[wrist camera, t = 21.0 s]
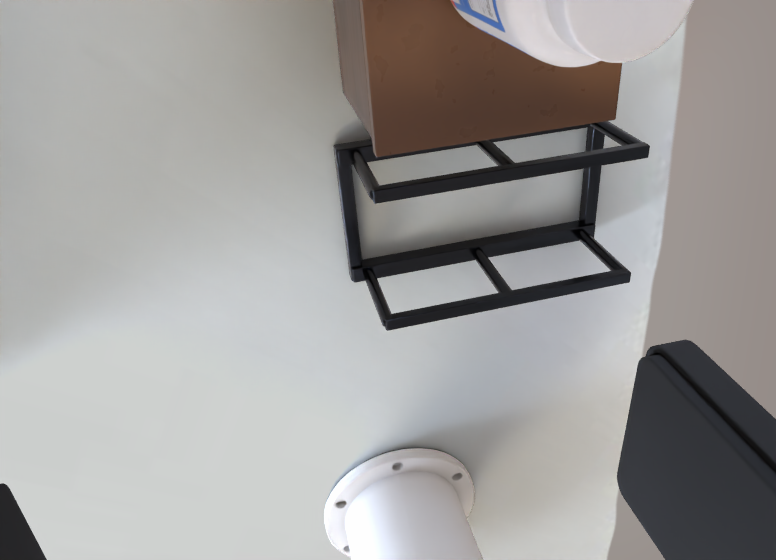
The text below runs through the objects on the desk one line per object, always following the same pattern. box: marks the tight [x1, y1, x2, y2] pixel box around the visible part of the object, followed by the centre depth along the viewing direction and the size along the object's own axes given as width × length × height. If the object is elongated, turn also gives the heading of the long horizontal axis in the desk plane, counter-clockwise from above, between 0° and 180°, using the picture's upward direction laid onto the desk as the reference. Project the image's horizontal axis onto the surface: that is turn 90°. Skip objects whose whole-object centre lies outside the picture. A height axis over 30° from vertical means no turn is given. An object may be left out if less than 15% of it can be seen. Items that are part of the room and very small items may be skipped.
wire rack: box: [333, 121, 650, 331], centre depth 38 cm, size 9×17×7 cm, turn 95°
